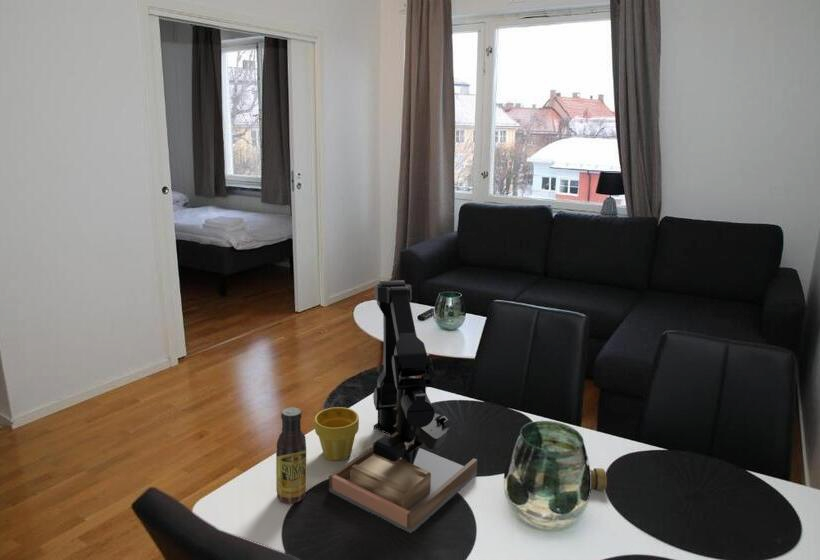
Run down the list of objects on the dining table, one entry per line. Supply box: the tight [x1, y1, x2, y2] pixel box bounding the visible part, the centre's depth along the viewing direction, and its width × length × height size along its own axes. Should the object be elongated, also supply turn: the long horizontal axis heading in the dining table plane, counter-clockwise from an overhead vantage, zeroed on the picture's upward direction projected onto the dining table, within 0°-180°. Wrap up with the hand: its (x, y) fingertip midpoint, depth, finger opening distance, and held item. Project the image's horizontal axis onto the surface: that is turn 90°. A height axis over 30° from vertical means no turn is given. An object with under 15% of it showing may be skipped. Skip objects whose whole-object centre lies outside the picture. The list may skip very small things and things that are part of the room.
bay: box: [328, 432, 478, 534], centre depth 131 cm, size 22×25×4 cm
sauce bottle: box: [275, 406, 307, 505], centre depth 123 cm, size 7×6×20 cm
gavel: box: [590, 467, 608, 491], centre depth 139 cm, size 21×5×10 cm
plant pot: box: [313, 406, 360, 462], centre depth 141 cm, size 10×10×10 cm
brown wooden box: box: [350, 454, 431, 510], centre depth 126 cm, size 14×10×5 cm
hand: (409, 468), depth 131 cm, fingers closed
